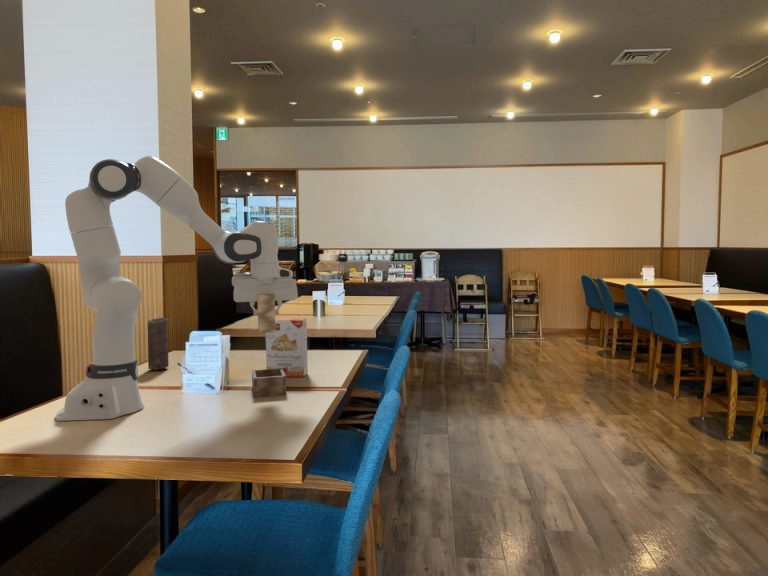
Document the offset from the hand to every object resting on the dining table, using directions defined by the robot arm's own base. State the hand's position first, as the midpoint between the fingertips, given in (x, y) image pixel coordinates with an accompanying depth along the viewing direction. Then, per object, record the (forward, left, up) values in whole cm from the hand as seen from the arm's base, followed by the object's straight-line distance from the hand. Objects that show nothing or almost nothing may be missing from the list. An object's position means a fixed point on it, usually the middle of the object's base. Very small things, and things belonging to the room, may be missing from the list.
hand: (266, 315), depth 181 cm
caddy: (0, 0, -25) cm, 25 cm away
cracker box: (+8, +21, -25) cm, 34 cm away
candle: (-39, +48, -25) cm, 67 cm away
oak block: (0, 0, -5) cm, 5 cm away
